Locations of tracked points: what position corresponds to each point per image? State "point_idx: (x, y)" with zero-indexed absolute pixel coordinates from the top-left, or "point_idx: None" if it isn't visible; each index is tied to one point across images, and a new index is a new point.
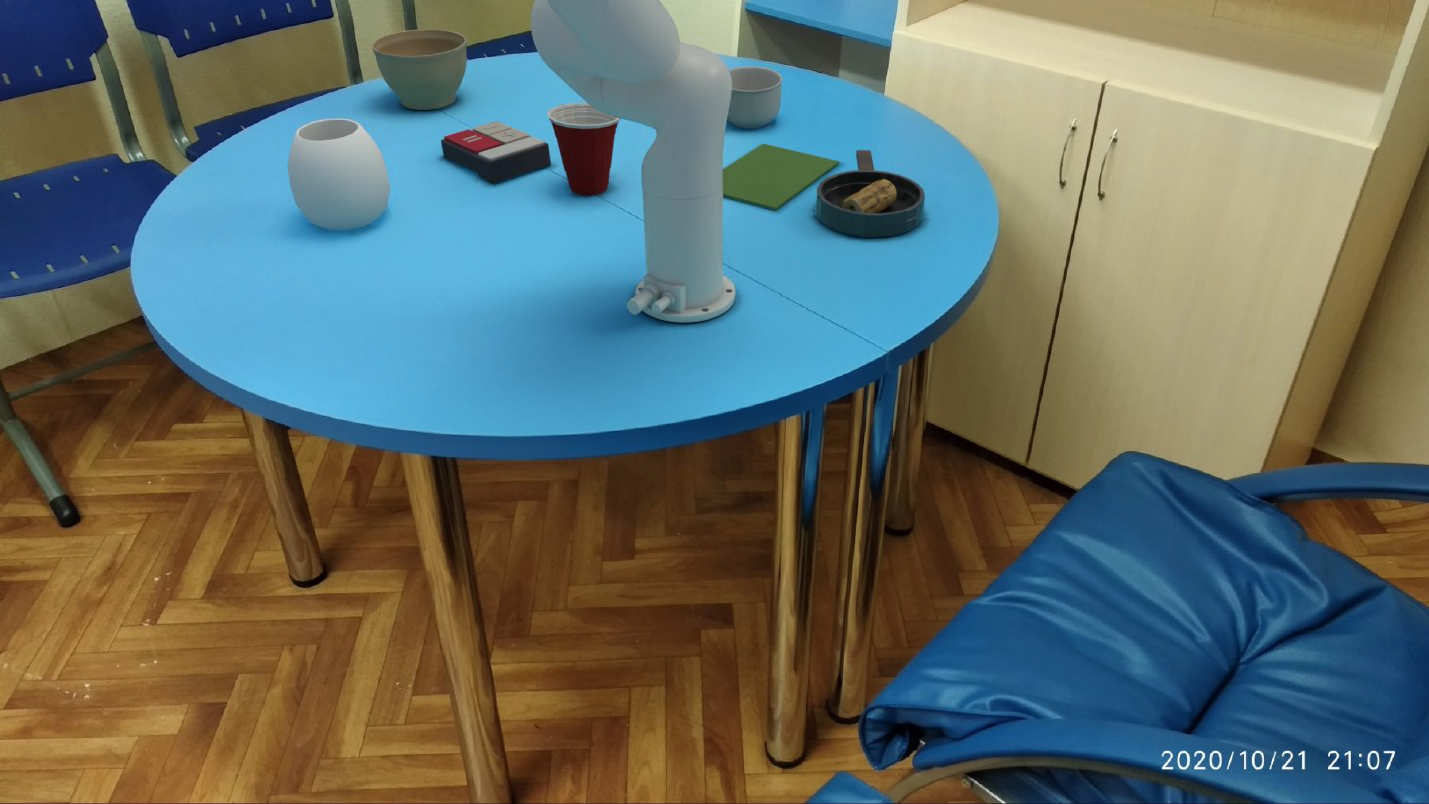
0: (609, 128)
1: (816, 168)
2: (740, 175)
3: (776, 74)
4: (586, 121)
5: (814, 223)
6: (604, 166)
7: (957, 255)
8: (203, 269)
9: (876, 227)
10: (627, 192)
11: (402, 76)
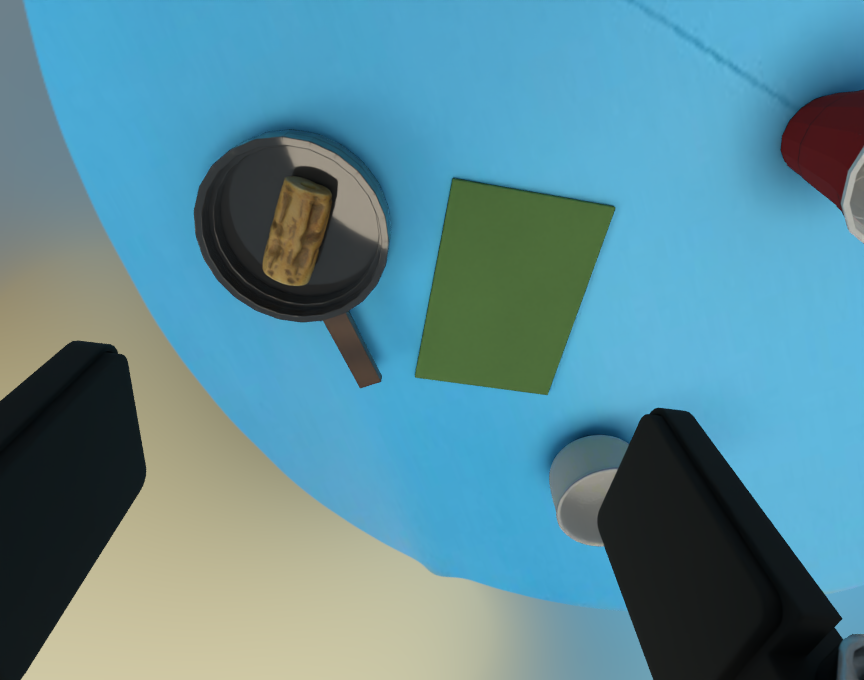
0: (862, 145)
1: (439, 343)
2: (550, 277)
3: (571, 533)
4: None
5: (372, 156)
6: (816, 129)
7: (101, 131)
8: None
9: (245, 141)
10: (738, 147)
11: None
